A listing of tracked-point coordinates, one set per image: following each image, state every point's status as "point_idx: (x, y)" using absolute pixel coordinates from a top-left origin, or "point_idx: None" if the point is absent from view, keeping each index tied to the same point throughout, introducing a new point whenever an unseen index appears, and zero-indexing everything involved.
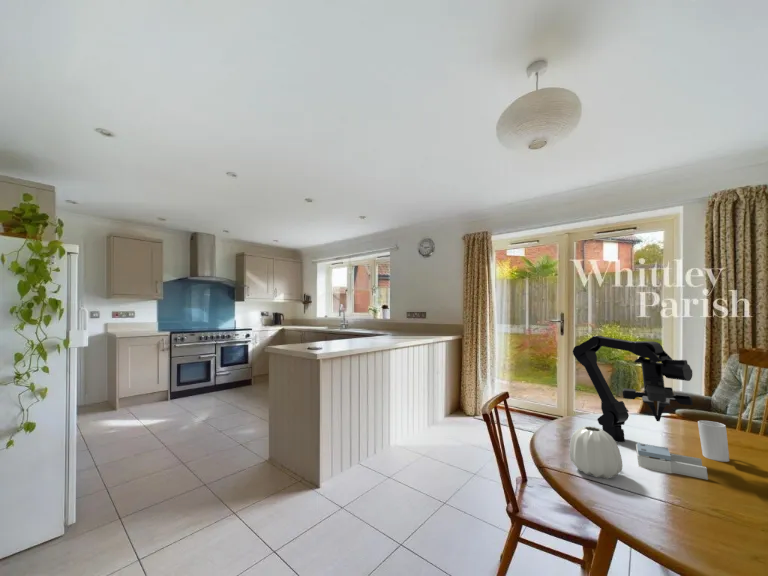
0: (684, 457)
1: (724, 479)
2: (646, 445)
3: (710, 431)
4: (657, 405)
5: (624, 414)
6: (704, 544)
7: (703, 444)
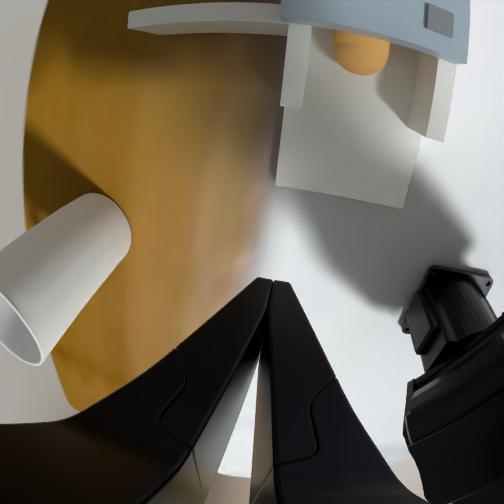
0: (203, 4)
1: (109, 8)
2: (416, 18)
3: (12, 264)
4: (205, 499)
5: (447, 411)
6: None
7: (90, 246)
